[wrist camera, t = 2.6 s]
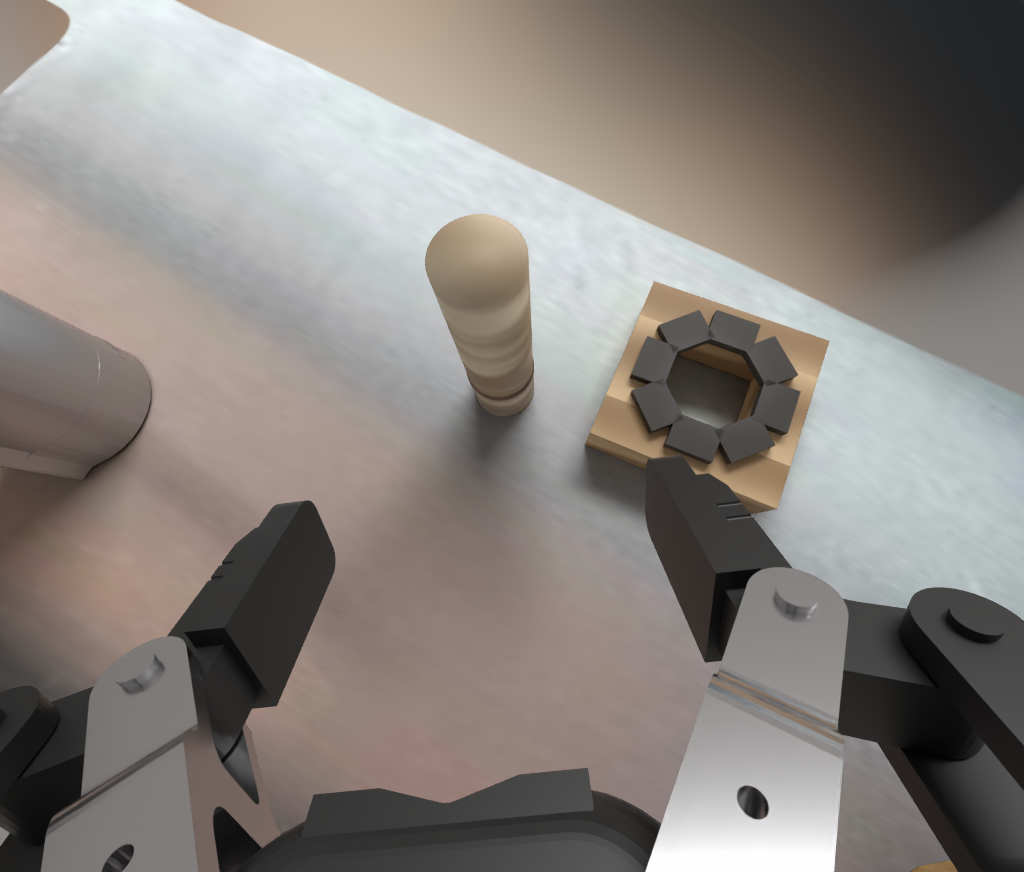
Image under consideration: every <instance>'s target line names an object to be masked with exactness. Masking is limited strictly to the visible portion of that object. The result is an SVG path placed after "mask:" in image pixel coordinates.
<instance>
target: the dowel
mask: <svg viewBox="0 0 1024 872" xmlns="http://www.w3.org/2000/svg"><path fill="white" fill-rule="evenodd" d="M425 267H426V272H427V276H428V278H429V281H430V283H431V285H432V288H433V290H434V293H435V295H436V298H437V300H438V303H439V305H440V308H441V310H442V313H443V315H444V318H445V320H446V322H447V325H448V327H449V330H450V332H451V335H452V337H453V340H454V342H455V345H456V347H457V350H458V352H459V355H460V357H461V360H462V362H463V364H464V367H465V369H466V372H467V376H468V379H469V381H470V384H471V385H472V387H473V389H474V392H475V394H476V397H477V399H478V401H479V403H480V405H481V406H482V407H483V408H484V409H485V410H486V411H487V412H489V413H491V414H493V415H496V416H503V417H505V416H512V415H515V414H517V413H519V412H521V411H522V410H524V409H525V408H526V407H527V406H528V404H529V403H530V401H531V400H532V397H533V393H534V378H533V374H534V361H533V354H532V331H531V307H530V283H529V260H528V248H527V245H526V242H525V239H524V238H523V236H522V234H521V233H520V232H519V230H518V229H517V228H516V227H515V226H513V225H512V224H511V223H509V222H507V221H506V220H504V219H501V218H499V217H496V216H492V215H485V214H476V215H469V216H464V217H461V218H458V219H456V220H454V221H452V222H450V223H448V224H447V225H445V226H444V227H443V228H442V229H441V230H439V231H438V232H437V234H436V235H435V236H434V237H433V239H432V240H431V242H430V244H429V246H428V249H427V252H426V257H425Z"/></svg>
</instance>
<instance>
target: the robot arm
mask: <svg viewBox="0 0 1024 872" xmlns="http://www.w3.org/2000/svg"><path fill="white" fill-rule="evenodd" d="M150 396H151V386H150V381H149V377H148V374H147V372H146V370H145V368H144V366H143V365H142V364H141V363H140V362H139V361H138V359H137V358H135V357H134V356H132V355H131V354H129V353H127V352H126V351H124V350H122V349H120V348H118V347H116V346H114V345H112V344H111V343H109V342H107V341H105V340H103V339H101V338H98V337H96V336H93V335H91V334H89V333H87V332H85V331H83V330H81V329H79V328H77V327H75V326H73V325H71V324H69V323H67V322H65V321H63V320H61V319H59V318H57V317H55V316H53V315H51V314H49V313H47V312H45V311H43V310H41V309H39V308H37V307H35V306H33V305H31V304H29V303H26V302H24V301H22V300H20V299H18V298H16V297H14V296H12V295H10V294H8V293H6V292H4V291H2V290H0V467H3V468H9V469H15V470H21V471H27V472H33V473H40V474H46V475H52V476H58V477H64V478H70V479H76V480H82V479H84V478H85V476H86V475H87V473H88V472H89V470H90V469H91V468H92V467H93V466H95V465H97V464H99V463H101V462H102V461H104V460H106V459H108V458H110V457H112V456H113V455H114V454H116V453H117V452H118V451H120V450H121V449H122V448H124V447H125V445H126V444H127V443H128V442H129V441H130V440H131V439H132V438H133V437H134V436H135V434H136V433H137V431H138V430H139V428H140V427H141V425H142V423H143V421H144V419H145V416H146V414H147V412H148V408H149V403H150ZM645 513H646V522H647V527H648V531H649V534H650V537H651V540H652V542H653V544H654V547H655V549H656V551H657V553H658V556H659V558H660V560H661V563H662V565H663V567H664V570H665V572H666V574H667V576H668V579H669V581H670V583H671V586H672V588H673V590H674V592H675V595H676V597H677V599H678V602H679V604H680V606H681V608H682V611H683V613H684V615H685V618H686V620H687V622H688V625H689V627H690V629H691V631H692V634H693V636H694V638H695V641H696V643H697V645H698V647H699V650H700V652H701V654H702V657H703V659H704V661H705V662H714V661H722V662H721V665H720V668H719V671H718V673H717V675H716V674H714V675H713V677H712V679H711V681H710V683H709V686H708V689H707V692H706V694H705V697H704V700H703V703H702V706H701V709H700V712H699V715H698V718H697V721H696V724H695V727H694V730H693V733H692V736H691V739H690V742H689V745H688V748H687V751H686V753H685V756H684V759H683V762H682V765H681V768H680V771H679V774H678V777H677V780H676V783H675V786H674V789H673V792H672V795H671V798H670V801H669V804H668V807H667V809H666V812H665V815H664V818H663V821H662V824H661V823H660V822H658V821H657V820H655V819H654V818H652V817H651V816H650V815H648V814H647V813H645V812H644V811H643V810H641V809H639V808H637V807H635V806H634V805H632V804H630V803H628V802H626V801H624V800H622V799H619V798H617V797H614V796H611V795H609V794H606V793H602V792H597V791H593V790H591V786H590V780H589V773H588V768H582V769H572V770H562V771H552V772H542V773H531V774H521V775H517V776H515V777H512V778H510V779H507V780H505V781H503V782H500V783H498V784H495V785H493V786H490V787H488V788H486V789H483V790H481V791H478V792H476V793H473V794H471V795H469V796H466V797H464V798H461V799H459V800H456V801H454V802H450V803H439V802H435V801H431V800H427V799H423V798H418V797H414V796H410V795H406V794H402V793H397V792H393V791H389V790H385V789H381V788H378V789H367V790H357V791H347V792H337V793H326V794H316V795H314V796H313V799H312V802H311V805H310V809H309V812H308V815H307V818H306V821H305V822H303V823H301V824H299V825H297V826H295V827H294V828H292V829H290V830H288V831H286V832H285V833H283V834H281V833H280V831H279V829H278V827H277V825H276V823H275V821H274V818H273V815H272V813H271V809H270V806H269V802H268V798H267V794H266V790H265V786H264V782H263V778H262V774H261V770H260V766H259V762H258V758H257V755H256V751H255V747H254V743H253V739H252V735H251V731H250V729H249V727H248V726H247V725H246V723H245V722H246V720H247V718H248V715H249V713H250V711H251V709H253V708H263V707H272V706H277V704H278V702H279V699H280V697H281V695H282V692H283V690H284V688H285V685H286V683H287V681H288V678H289V676H290V674H291V672H292V669H293V667H294V665H295V662H296V660H297V658H298V655H299V653H300V651H301V648H302V646H303V644H304V641H305V639H306V637H307V634H308V632H309V630H310V627H311V625H312V623H313V620H314V618H315V616H316V613H317V611H318V609H319V606H320V604H321V602H322V599H323V597H324V595H325V592H326V590H327V588H328V585H329V583H330V581H331V578H332V576H333V573H334V570H335V552H334V548H333V546H332V543H331V541H330V539H329V536H328V534H327V532H326V530H325V527H324V525H323V523H322V520H321V518H320V516H319V513H318V511H317V509H316V507H315V505H314V504H313V503H312V502H311V501H300V502H292V503H284V504H277V505H275V506H274V507H273V508H272V509H271V510H270V512H269V513H268V514H267V516H266V517H265V519H264V520H263V521H262V523H261V524H260V526H259V527H258V528H255V529H253V530H252V531H251V532H250V533H248V534H247V535H246V536H245V537H244V538H242V539H241V540H240V541H239V542H238V543H236V544H235V545H234V547H233V548H232V549H231V551H230V552H229V554H228V555H227V556H226V558H225V559H224V560H223V562H222V565H221V566H219V567H218V568H217V570H216V571H215V572H214V574H213V575H212V576H211V581H208V582H207V583H206V585H205V586H204V587H203V589H202V590H201V591H200V593H199V594H198V595H197V597H196V598H195V599H194V601H193V602H192V603H191V605H190V606H189V607H188V609H187V610H186V611H185V613H184V614H183V616H182V617H181V618H180V620H179V621H178V622H177V624H176V625H175V626H174V628H173V629H172V630H171V632H170V633H169V634H168V636H167V637H161V638H157V639H154V640H151V641H149V642H146V643H144V644H142V645H140V646H138V647H136V648H135V649H133V650H131V651H130V652H128V653H127V654H125V655H124V656H122V657H121V658H120V659H119V660H117V661H116V662H115V663H114V664H113V665H112V666H110V667H109V668H108V669H107V670H106V671H105V673H104V674H103V675H102V676H101V677H100V679H99V680H98V681H97V683H96V684H95V686H94V687H91V688H88V689H86V690H83V691H80V692H78V693H75V694H72V695H69V696H67V697H64V698H61V699H59V700H56V701H53V702H50V701H49V700H48V699H47V698H46V697H45V696H44V695H43V694H42V693H41V692H40V691H39V690H38V689H36V688H34V687H31V686H22V687H17V688H13V689H10V690H7V691H4V692H2V693H0V827H2V828H3V829H5V830H6V831H8V832H9V833H10V834H9V835H8V837H7V838H6V839H5V841H4V842H3V844H2V845H1V846H0V872H834V862H835V851H836V839H837V827H838V815H839V804H840V792H841V780H842V769H843V756H844V737H843V735H847V736H851V737H855V738H860V739H864V740H869V741H873V742H877V743H878V744H879V746H880V748H881V749H882V751H883V752H884V754H885V756H886V757H887V759H888V760H889V762H890V764H891V765H892V767H893V769H894V770H895V772H896V773H897V775H898V777H899V778H900V780H901V781H902V783H903V785H904V786H905V788H906V789H907V791H908V793H909V794H910V796H911V797H912V799H913V801H914V802H915V804H916V805H917V807H918V809H919V810H920V812H921V813H922V815H923V817H924V818H925V820H926V821H927V823H928V825H929V826H930V828H931V829H932V831H933V833H934V834H935V836H936V838H937V839H938V841H939V842H940V844H941V846H942V847H943V849H944V850H945V852H946V854H947V855H948V857H949V858H950V860H951V862H952V863H953V865H954V866H955V868H956V870H957V871H958V872H1024V621H1023V620H1022V619H1021V618H1019V617H1018V616H1017V615H1015V614H1014V613H1012V612H1011V611H1009V610H1008V609H1006V608H1004V607H1003V606H1001V605H999V604H997V603H995V602H993V601H991V600H989V599H986V598H984V597H981V596H979V595H976V594H973V593H970V592H966V591H962V590H957V589H952V588H927V589H924V590H921V591H919V592H917V593H915V594H914V596H913V597H912V598H911V600H910V603H909V605H908V607H907V609H904V608H897V607H890V606H883V605H876V604H869V603H862V602H856V601H850V600H846V599H842V597H841V596H840V595H839V594H838V592H836V591H835V590H834V589H833V588H832V587H831V586H830V585H828V584H827V583H826V582H824V581H823V580H821V579H819V578H818V577H815V576H813V575H811V574H809V573H806V572H803V571H800V570H796V569H793V568H792V567H791V566H790V564H789V563H788V562H787V561H786V559H785V558H784V557H783V555H782V554H781V553H780V552H779V550H778V549H777V548H776V546H775V545H774V544H773V543H772V541H771V540H770V539H769V537H768V536H767V535H766V534H765V532H764V531H763V530H762V528H761V527H760V526H759V525H758V523H757V522H756V521H755V519H754V518H751V516H750V513H749V512H748V510H747V509H746V508H745V506H744V505H743V504H741V503H740V500H739V499H738V497H737V496H736V495H735V494H734V492H733V491H732V490H731V488H730V487H729V486H728V485H727V484H725V483H724V482H722V481H720V480H719V479H717V478H715V477H714V476H712V475H711V474H709V473H706V474H698V475H696V474H695V472H694V471H693V469H692V468H691V467H690V465H689V464H688V462H687V461H686V459H685V458H684V457H683V456H682V455H675V456H667V457H659V458H651V459H648V460H647V464H646V506H645Z"/></svg>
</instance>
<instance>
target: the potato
mask: <svg viewBox="0 0 1024 872" xmlns="http://www.w3.org/2000/svg"><path fill="white" fill-rule="evenodd" d="M911 872H958V871H957V870H956V868H955V866H954V865H953V863H952V862H951V861H945V862H939V863H934V864H928V865H923V866H918V867H917V868H915V869H914V870H912V871H911Z"/></svg>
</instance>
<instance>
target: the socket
mask: <svg viewBox="0 0 1024 872" xmlns="http://www.w3.org/2000/svg"><path fill="white" fill-rule="evenodd" d="M828 344H829V341H828V340H825V339H822V338H819V337H816V336H813V335H810V334H807V333H804V332H802V331H799V330H796V329H793V328H790V327H787V326H784V325H781V324H778V323H775V322H772V321H769V320H766V319H763V318H760V317H758V316H755V315H752V314H749V313H746V312H743V311H740V310H737V309H734V308H731V307H728V306H725V305H722V304H719V303H716V302H714V301H711V300H708V299H705V298H702V297H699V296H696V295H693V294H690V293H687V292H684V291H681V290H678V289H675V288H672V287H670V286H667V285H664V284H661V283H658V282H655V281H654V283H653V285H652V287H651V290H650V292H649V295H648V297H647V299H646V302H645V304H644V306H643V309H642V311H641V313H640V316H639V318H638V321H637V323H636V325H635V328H634V330H633V332H632V335H631V337H630V339H629V342H628V344H627V346H626V349H625V351H624V354H623V356H622V358H621V361H620V363H619V365H618V368H617V370H616V372H615V375H614V377H613V379H612V382H611V384H610V387H609V389H608V391H607V394H606V396H605V398H604V401H603V403H602V405H601V408H600V410H599V413H598V415H597V417H596V420H595V422H594V424H593V427H592V429H591V431H590V434H589V436H588V439H587V441H586V444H585V445H587V446H589V447H592V448H594V449H597V450H599V451H601V452H604V453H606V454H609V455H611V456H613V457H616V458H618V459H621V460H623V461H626V462H628V463H630V464H633V465H635V466H638V467H640V468H642V469H645V470H646V464H647V460H648V459H651V458H659V457H667V456H675V455H682V456H683V457H684V458H685V459H686V461H687V462H688V464H689V465H690V467H691V468H692V469H693V471H694V472H695V474H696V475H698V474H706V473H709V474H711V475H712V476H714V477H715V478H717V479H719V480H720V481H722V482H724V483H725V484H727V485H728V486H729V487H730V488H731V490H732V491H733V492H734V494H735V495H736V496H737V497H738V499H739V500H740V503H741V504H743V505H744V506H745V508H746V509H747V510H748V512H749V513H751V514H755V513H760V512H764V511H769V510H774V509H777V508H778V505H779V501H780V498H781V495H782V492H783V489H784V485H785V482H786V479H787V476H788V472H789V469H790V466H791V463H792V460H793V456H794V453H795V450H796V447H797V443H798V440H799V437H800V434H801V431H802V427H803V424H804V421H805V418H806V415H807V411H808V408H809V405H810V402H811V398H812V395H813V392H814V389H815V386H816V382H817V379H818V376H819V373H820V370H821V366H822V363H823V360H824V357H825V353H826V350H827V347H828ZM676 355H681V356H683V357H686V358H689V359H692V360H694V361H697V362H700V363H703V364H705V365H708V366H711V367H714V368H716V369H719V370H722V371H725V372H727V373H730V374H733V375H735V376H738V377H741V378H744V379H746V380H749V381H751V383H750V386H749V389H748V391H747V394H746V397H745V400H744V403H743V406H742V409H741V412H740V415H739V417H738V420H737V422H735V423H733V424H730V425H728V426H725V427H722V428H720V429H718V428H715V427H713V426H710V425H708V424H705V423H702V422H700V421H697V420H695V419H692V418H689V417H687V416H684V415H682V414H681V412H680V410H679V408H678V406H677V404H676V402H675V400H674V398H673V396H672V394H671V392H670V390H669V388H668V386H667V384H666V380H667V377H668V374H669V372H670V369H671V367H672V364H673V362H674V359H675V357H676Z"/></svg>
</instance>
